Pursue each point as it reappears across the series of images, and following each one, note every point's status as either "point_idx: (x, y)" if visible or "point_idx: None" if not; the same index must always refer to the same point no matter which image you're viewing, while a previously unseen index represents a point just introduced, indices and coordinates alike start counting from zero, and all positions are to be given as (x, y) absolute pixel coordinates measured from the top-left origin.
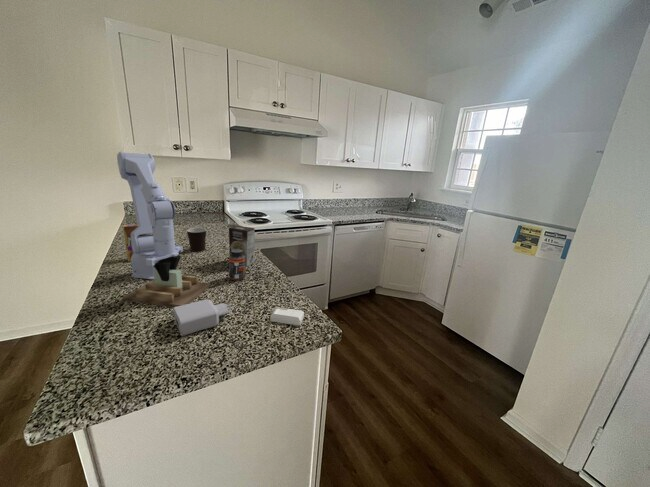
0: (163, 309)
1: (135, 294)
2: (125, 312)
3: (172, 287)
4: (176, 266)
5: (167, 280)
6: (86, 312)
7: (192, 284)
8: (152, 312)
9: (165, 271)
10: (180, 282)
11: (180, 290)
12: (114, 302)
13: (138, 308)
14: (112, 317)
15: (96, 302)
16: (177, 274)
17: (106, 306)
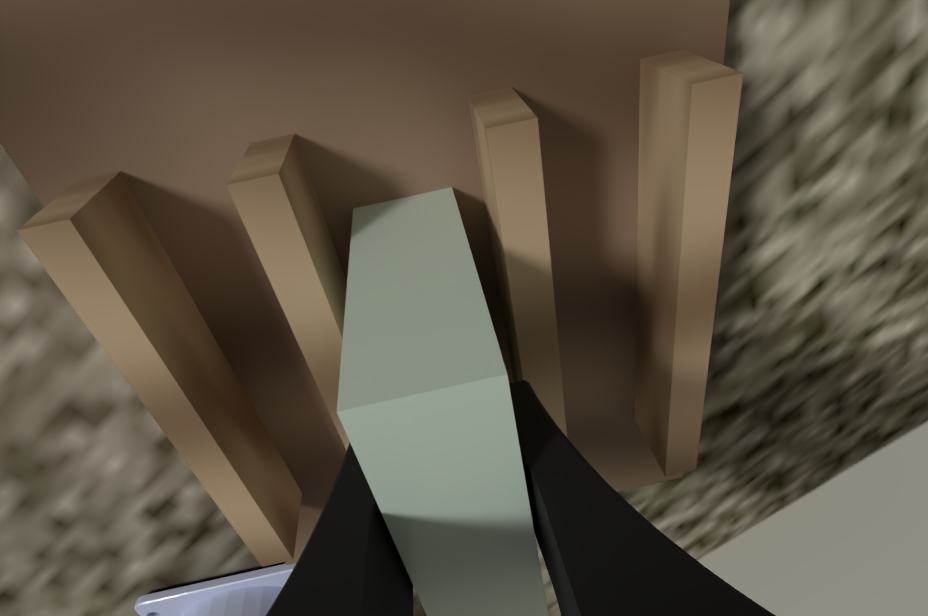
0: (767, 59)
1: (618, 453)
2: (839, 306)
3: (525, 254)
4: (315, 561)
5: (528, 384)
6: (842, 469)
7: (164, 222)
8: (835, 113)
9: (628, 512)
10: (388, 263)
11: (517, 112)
12: (707, 465)
13: (770, 281)
14: (911, 316)
15: (724, 523)
16: (462, 356)
17: (764, 455)
